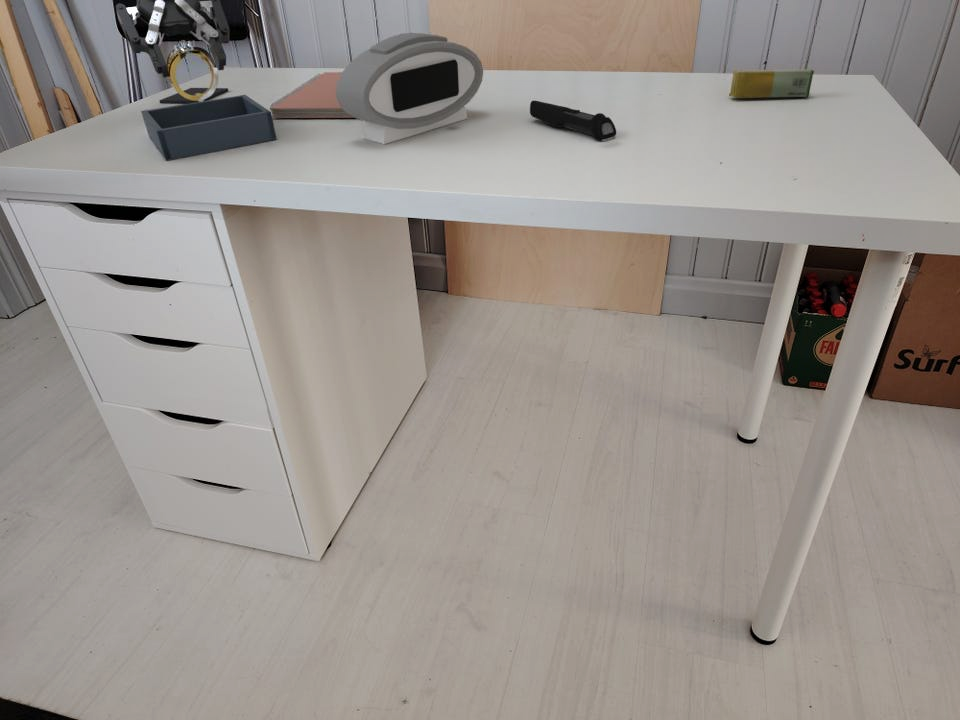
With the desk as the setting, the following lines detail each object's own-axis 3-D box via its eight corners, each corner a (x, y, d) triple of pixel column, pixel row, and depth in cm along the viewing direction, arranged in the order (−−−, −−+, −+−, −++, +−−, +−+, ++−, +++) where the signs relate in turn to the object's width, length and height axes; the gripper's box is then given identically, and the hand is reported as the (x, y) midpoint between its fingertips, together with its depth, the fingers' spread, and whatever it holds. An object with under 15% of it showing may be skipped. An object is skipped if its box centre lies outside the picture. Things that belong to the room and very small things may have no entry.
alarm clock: (369, 151, 89) (356, 50, 82) (343, 143, 93) (328, 45, 85) (485, 115, 102) (482, 25, 95) (458, 109, 106) (453, 22, 99)
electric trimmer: (542, 118, 100) (542, 96, 99) (618, 137, 90) (619, 113, 88) (523, 123, 99) (523, 101, 97) (599, 142, 88) (600, 118, 87)
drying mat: (198, 104, 116) (197, 101, 115) (159, 103, 117) (159, 100, 117) (228, 90, 124) (227, 88, 123) (191, 90, 125) (191, 87, 125)
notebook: (320, 81, 127) (318, 70, 126) (404, 81, 125) (403, 69, 124) (265, 119, 105) (262, 106, 104) (365, 119, 103) (364, 106, 102)
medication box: (802, 95, 105) (808, 68, 103) (809, 97, 103) (815, 70, 101) (728, 96, 106) (732, 69, 104) (733, 98, 103) (738, 70, 101)
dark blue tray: (166, 160, 89) (156, 131, 87) (149, 138, 98) (140, 111, 96) (276, 139, 95) (270, 111, 93) (251, 120, 105) (245, 94, 103)
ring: (180, 107, 91) (163, 45, 86) (172, 104, 93) (154, 42, 88) (228, 98, 95) (213, 38, 90) (219, 95, 97) (204, 36, 92)
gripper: (92, -51, 85) (135, 58, 84) (204, -56, 91) (246, 45, 90) (102, -8, 92) (142, 94, 91) (205, -16, 98) (245, 80, 97)
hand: (194, 69), depth 90 cm, fingers closed on ring, 7 cm apart
